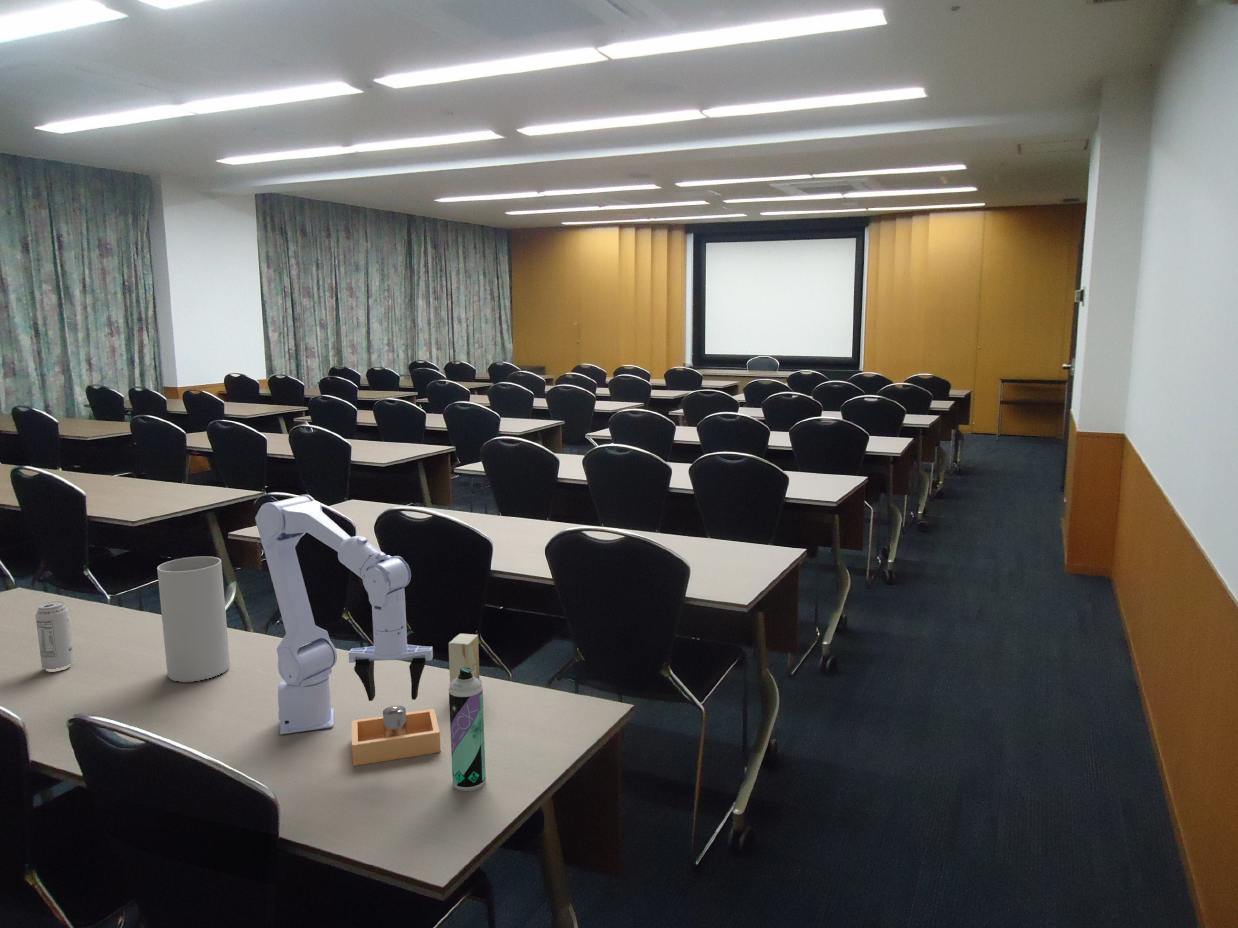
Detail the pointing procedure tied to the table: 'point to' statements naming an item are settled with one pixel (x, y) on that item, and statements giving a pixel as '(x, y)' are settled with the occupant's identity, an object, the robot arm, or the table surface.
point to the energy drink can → (54, 635)
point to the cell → (394, 721)
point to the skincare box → (463, 655)
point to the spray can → (467, 731)
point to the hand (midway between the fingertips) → (393, 697)
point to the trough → (395, 738)
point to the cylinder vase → (193, 618)
